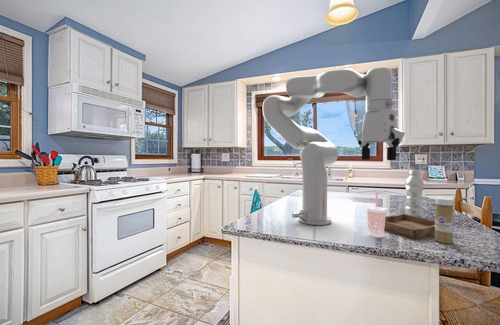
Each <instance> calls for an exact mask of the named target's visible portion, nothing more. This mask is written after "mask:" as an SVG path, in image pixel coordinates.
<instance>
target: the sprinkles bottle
mask: <svg viewBox="0 0 500 325" xmlns="http://www.w3.org/2000/svg"><path fill="white" fill-rule="evenodd" d="M434 201H435V218H434V221H435V235H434V238H433V239H434V241H436V242H438V243H443V244H453V232H454V207H455V199H454V198H452V197H442V196H437V197H435V200H434Z"/></svg>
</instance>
